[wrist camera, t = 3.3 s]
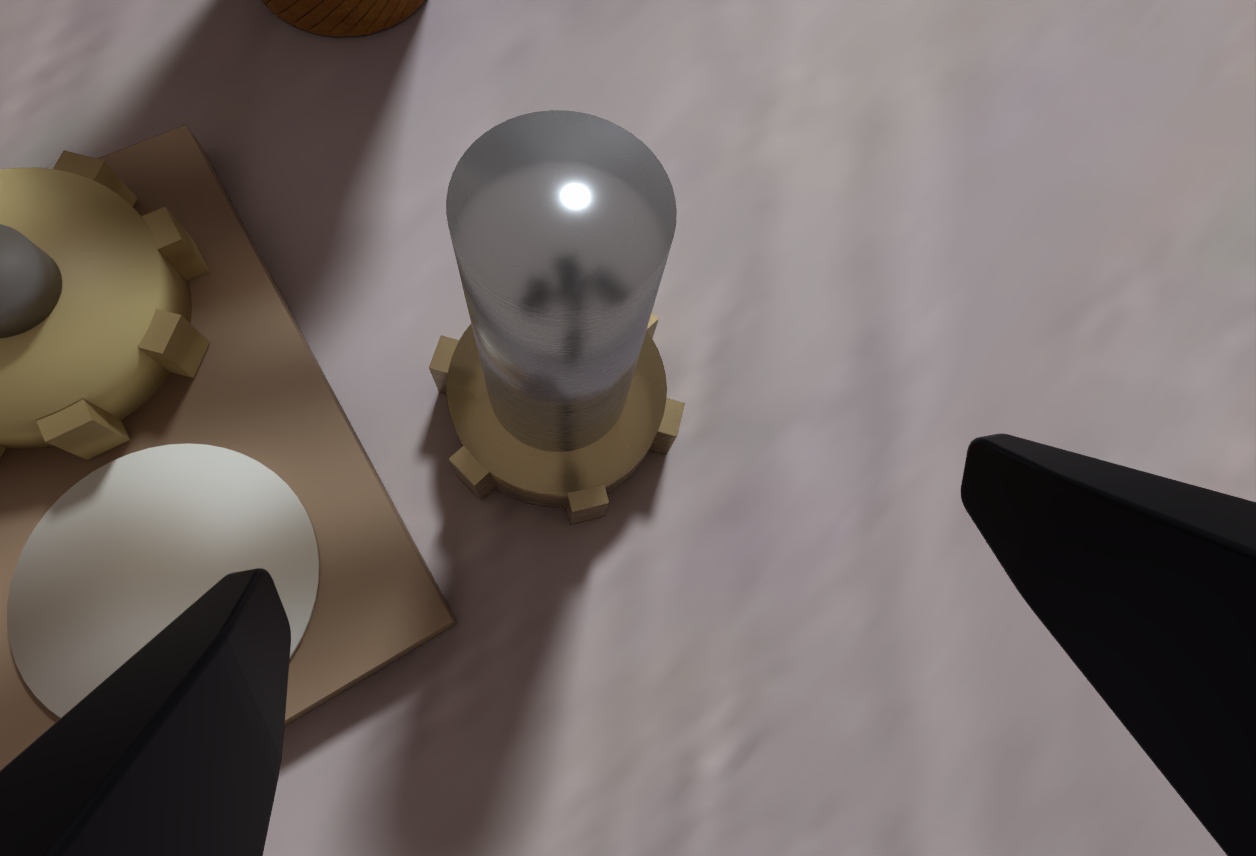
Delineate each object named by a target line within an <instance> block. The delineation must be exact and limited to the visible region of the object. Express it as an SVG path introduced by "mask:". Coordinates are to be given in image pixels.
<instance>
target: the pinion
mask: <svg viewBox="0 0 1256 856" xmlns="http://www.w3.org/2000/svg"><path fill="white" fill-rule="evenodd" d="M676 212H677V211H676V201H675V196H674V192H673V188H672V185H671V182H670V180H669V178H668V175H667V173H666V171H665V170H664V168H663V166H662V164H661V163H660V161H659V160H658V159H657V157H656V156H655V155H654V154H653V152H652V151H651V150H650V149H649V148H648V147H647V146H646V145H645V144H644V143H643V142H642V141H641V140H639V139H638V138H637V137H635V136H634V135H633V134H632V133H630V132H628V131H627V130H625V129H624V128H622V127H620V126H618V125H616V124H614V123H612V122H610V121H608V120H605V119H602V118H599V117H597V116H594V115H589V114H585V113H580V112H573V111H554V110H550V111H541V112H534V113H529V114H525V115H521V116H518V117H515V118H512V119H509V120H507V121H505V122H503V123H501V124H499V125H497V126H495V127H493V128H492V129H490V130H489V131H487V132H486V133H484V134H483V135H482V136H481V137H479V138H478V139H477V140H476V141H475V142H474V143H473V144H472V145H471V146H470V147H469V148H468V149H467V151H466V152H465V153H464V155H463V156H462V157H461V159H460V160H459V162H458V164H457V166H456V168H455V170H454V172H453V174H452V177H451V180H450V183H449V187H448V193H447V199H446V214H447V220H448V226H449V230H450V235H451V239H452V243H453V247H454V252H455V256H456V260H457V264H458V269H459V273H460V277H461V281H462V286H463V290H464V294H465V298H466V303H467V307H468V311H469V315H470V320H471V325H470V326H469V327H468V328H467V330H466V331H465V332H464V334H463V336H462V337H461V339H460V340H456V339H452V338H449V337H445V336H442V335H441V336H440V339H439V342H438V345H437V347H436V350H435V353H434V355H433V358H432V361H431V363H430V366H429V369H430V372H431V374H432V376H433V379H434V381H435V383H436V386H437V388H438V391H439V392H442V393H446V394H447V401H448V408H449V412H450V415H451V419H452V422H453V425H454V427H455V430H456V432H457V434H458V437H459V439H460V442H461V444H462V446H463V447H461V448H460V449H459V450H458V451H457V452H456V453H455V454H453V455H452V456H451V457H450V458H449V461H450V463H451V465H452V467H453V469H454V470H455V472H456V474H457V476H458V477H459V478H460V479H461V480H462V481H463V482H464V483H465V484H466V485H467V486H468V487H469V488H470V489H471V491H472V492H473V493H474V494H475V495H476V496H477V497H478V498H479V499H480V500H482V499H483V498H484V497H485V496H486V495H487V494H488V493H490V492H491V491H492V490H493V489H494V488H497V489H498V490H500V491H501V492H503V493H505V494H507V495H509V496H511V497H513V498H515V499H517V500H520V501H523V502H526V503H528V504H533V505H538V506H545V507H566V509H567V513H568V517H569V521H570V525H571V524H575V523H579V522H583V521H586V520H590V519H594V518H598V517H602V516H604V515H605V512H606V510H607V507H608V504H609V500H608V497H607V494H609V493H610V492H612V491H614V490H615V489H617V488H618V487H620V486H621V485H622V484H623V483H624V482H625V481H627V480H628V479H629V478H630V477H631V476H632V474H633V473H634V472H635V471H636V470H637V469H638V467H639V466H640V464H641V463H642V462H643V460H644V459H645V457H646V455H647V453H648V451H649V450H652V451H655V452H659V453H662V454H666V455H667V453H668V451H669V449H670V448H671V446H672V444H673V442H674V440H675V439H676V437H677V433H678V429H679V425H680V421H681V417H682V413H683V409H684V405H685V403H682V402H679V401H675V400H671V399H668V398H666V394H667V385H666V374H665V370H664V366H663V362H662V359H661V356H660V354H659V351H658V349H657V347H656V345H655V343H654V341H653V340H652V338H653V335H654V332H655V329H656V326H657V323H658V319H659V318H658V317H656V316H655V315H654V314H653V313H652V309H653V306H654V302H655V299H656V296H657V292H658V289H659V285H660V282H661V278H662V275H663V271H664V268H665V265H666V261H667V258H668V254H669V251H670V247H671V244H672V240H673V237H674V232H675V227H676Z"/></svg>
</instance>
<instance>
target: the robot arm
mask: <svg viewBox="0 0 1256 856" xmlns="http://www.w3.org/2000/svg"><path fill="white" fill-rule="evenodd" d="M961 498H962V502H963V505H964V507H965V509H966V511H967V512H968V514H969V515H970V517H971V518H972V520H973V522H974V523H975V525H976V526H977V528H978V529H979V531H980V533H981V534H982V536H983V537H984V539H985V540H986V542H987V543H988V545H989V547H990V548H991V550H992V551H993V553H994V554H995V556H996V557H997V559H998V561H999V562H1000V564H1001V565H1002V567H1003V568H1004V570H1005V572H1006V573H1007V575H1008V576H1009V578H1010V579H1011V581H1012V582H1013V584H1014V585H1015V587H1016V588H1017V590H1018V591H1019V593H1020V594H1021V596H1022V597H1023V598H1024V600H1025V601H1026V602H1027V604H1028V605H1029V606H1030V608H1031V609H1032V610H1033V612H1034V613H1035V614H1036V615H1037V617H1038V618H1039V619H1040V620H1041V622H1042V623H1043V624H1044V626H1045V627H1046V628H1047V629H1048V631H1049V632H1050V633H1051V634H1052V636H1053V637H1054V638H1055V639H1056V641H1057V642H1058V643H1059V644H1060V646H1061V647H1062V648H1063V649H1064V651H1065V652H1066V653H1067V654H1068V656H1069V657H1070V658H1071V659H1072V661H1073V662H1074V663H1075V665H1076V666H1077V667H1078V668H1079V670H1080V671H1081V672H1082V673H1083V675H1084V676H1085V677H1086V678H1087V680H1088V681H1089V682H1090V683H1091V685H1092V686H1093V687H1094V688H1095V690H1096V691H1097V692H1098V693H1099V695H1100V696H1101V697H1102V698H1103V700H1104V701H1105V702H1106V703H1107V705H1108V706H1109V707H1110V709H1111V710H1112V711H1113V712H1114V714H1115V715H1116V716H1117V717H1118V719H1119V720H1120V721H1121V722H1122V724H1123V725H1124V726H1125V727H1126V729H1127V730H1128V731H1129V732H1130V734H1131V735H1132V736H1133V737H1134V739H1135V740H1136V741H1137V742H1138V744H1139V745H1140V746H1141V748H1142V749H1143V750H1144V751H1145V753H1146V754H1147V755H1148V756H1149V758H1150V759H1151V760H1152V761H1153V763H1154V764H1155V765H1156V766H1157V768H1158V769H1159V770H1160V771H1161V773H1162V774H1163V775H1164V776H1165V778H1166V779H1167V780H1168V781H1169V783H1170V784H1171V785H1172V787H1173V788H1174V789H1175V790H1176V792H1177V793H1178V794H1179V795H1180V797H1181V798H1182V799H1183V800H1184V802H1185V803H1186V804H1187V805H1188V807H1189V808H1190V809H1191V810H1192V812H1193V813H1194V814H1195V815H1196V817H1197V818H1198V819H1199V820H1200V822H1201V823H1202V824H1203V826H1204V827H1205V828H1206V829H1207V831H1208V832H1209V833H1210V834H1211V836H1212V837H1213V838H1214V839H1215V841H1216V842H1217V843H1218V844H1219V846H1220V847H1221V848H1222V849H1223V851H1224V852H1225V853H1226V854H1227V856H1256V502H1253V501H1249V500H1245V499H1242V498H1238V497H1234V496H1231V495H1227V494H1223V493H1220V492H1216V491H1212V490H1209V489H1205V488H1202V487H1198V486H1194V485H1191V484H1187V483H1183V482H1180V481H1176V480H1172V479H1169V478H1165V477H1161V476H1158V475H1154V474H1150V473H1147V472H1143V471H1139V470H1136V469H1132V468H1128V467H1125V466H1121V465H1117V464H1114V463H1110V462H1107V461H1103V460H1099V459H1096V458H1092V457H1088V456H1085V455H1081V454H1077V453H1074V452H1070V451H1066V450H1063V449H1059V448H1055V447H1052V446H1048V445H1044V444H1041V443H1037V442H1033V441H1030V440H1026V439H1023V438H1019V437H1015V436H1012V435H1008V434H995V435H989V436H984V437H979V438H976V439H974V440H973V441H972V442H971V443H970V445H969V447H968V450H967V456H966V462H965V468H964V473H963V479H962V485H961ZM290 647H291V630H290V624H289V620H288V617H287V615H286V612H285V610H284V607H283V604H282V602H281V599H280V597H279V594H278V591H277V589H276V586H275V584H274V581H273V579H272V576H271V575H270V573H269V572H268V571H267V570H265V569H263V568H256V569H251V570H245V571H239V572H234V573H230V574H227V575H226V576H224V577H223V578H222V579H221V580H220V581H218V582H217V583H216V584H215V585H214V586H213V587H211V588H210V589H209V590H208V591H207V592H206V593H205V594H203V595H202V596H201V597H200V598H199V599H198V600H196V601H195V602H194V603H193V604H192V605H191V606H190V607H188V608H187V609H186V610H185V611H184V612H183V613H181V614H180V615H179V616H178V617H177V618H176V619H175V620H173V621H172V622H171V623H170V624H169V625H168V626H167V627H165V628H164V629H163V630H162V631H161V632H160V633H158V634H157V635H156V636H155V637H154V638H153V639H152V640H150V641H149V642H148V643H147V644H146V645H145V646H143V647H142V648H141V649H140V650H139V651H138V652H137V653H135V654H134V655H133V656H132V657H131V658H130V659H128V660H127V661H126V662H125V663H124V664H123V665H122V666H120V667H119V668H118V669H117V670H116V671H115V672H113V673H112V674H111V675H110V676H109V677H108V678H107V679H105V680H104V681H103V682H102V683H101V684H100V685H98V686H97V687H96V688H95V689H94V690H93V691H92V692H90V693H89V694H88V695H87V696H86V697H85V698H83V699H82V700H81V701H80V702H79V703H78V704H77V705H75V706H74V707H73V708H72V709H71V710H70V711H68V712H67V713H66V714H65V715H64V716H63V717H61V718H60V719H59V720H58V721H57V722H56V723H55V724H53V725H52V726H51V727H50V728H49V729H48V730H46V731H45V732H44V733H43V734H42V735H41V736H40V737H38V738H37V739H36V740H35V741H34V742H33V743H31V744H30V745H29V746H28V747H27V748H26V749H25V750H23V751H22V752H21V753H20V754H19V755H18V756H16V757H15V758H14V759H13V760H12V761H11V762H10V763H8V764H7V765H6V766H5V767H4V768H3V769H1V770H0V856H263V851H264V846H265V841H266V836H267V831H268V826H269V821H270V816H271V811H272V806H273V801H274V796H275V791H276V786H277V782H278V776H279V770H280V764H281V758H282V749H283V739H284V726H285V713H286V700H287V686H288V673H289V660H290Z"/></svg>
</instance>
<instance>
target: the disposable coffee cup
mask: <svg viewBox="0 0 1256 856" xmlns="http://www.w3.org/2000/svg"><path fill="white" fill-rule="evenodd" d="M262 1H263V2H264V3H265V4H266V5H267V6H268V8H269V9H270V10H271V11H272V12H273V13H275V14H276V15H277V16H278V17H280V18H281V19H282V20H284V21H286V22H288V23H290V24H291V25H293V26H295V27H297V28H300V29H303V30H306V31H309V32H312V33H315V34H321V35H327V36H360V35H367V34H372V33H375V32H378V31H381V30H384V29H387V28H390V27H392V26H394V25H395V24H397V23H399V22H401V21H403V20H404V19H406V18H407V17H409V16H410V15H411V14H413V13H414V12H415V11H416V10H417V9H418V8H419V7H420V6H421V4H422V3H423V2H424V1H425V0H262Z"/></svg>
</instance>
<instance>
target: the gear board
mask: <svg viewBox="0 0 1256 856" xmlns="http://www.w3.org/2000/svg"><path fill="white" fill-rule="evenodd" d="M256 568H263V569H265V570H267V571H268V572H269V573H270V575H271V576H272V579H273V581H274V584H275V586H276V589H277V591H278V594H279V597H280V599H281V602H282V604H283V607H284V610H285V612H286V615H287V617H288V620H289V624H290V630H291V647H290V660H289V673H288V686H287V700H286V713H285V726H286V725H288V724H290V723H292V722H293V721H295V720H297V719H298V718H300V717H302V716H303V715H305V714H307V713H308V712H310V711H312V710H313V709H315V708H317V707H318V706H320V705H322V704H323V703H325V702H327V701H328V700H330V699H332V698H334V697H335V696H337V695H339V694H340V693H342V692H344V691H345V690H347V689H349V688H350V687H352V686H354V685H355V684H357V683H359V682H360V681H362V680H364V679H365V678H367V677H369V676H371V675H372V674H374V673H376V672H377V671H379V670H381V669H382V668H384V667H386V666H387V665H389V664H391V663H392V662H394V661H396V660H397V659H399V658H401V657H402V656H404V655H406V654H407V653H409V652H411V651H413V650H414V649H416V648H418V647H419V646H421V645H423V644H424V643H426V642H428V641H429V640H431V639H433V638H434V637H436V636H438V635H439V634H441V633H443V632H444V631H446V630H448V629H450V628H451V627H453V626H455V625H456V624H458V623H457V621H456V619H455V617H454V615H453V613H452V611H451V610H450V608H449V606H448V604H447V602H446V600H445V598H444V597H443V595H442V593H441V591H440V589H439V587H438V585H437V584H436V582H435V580H434V578H433V576H432V574H431V572H430V571H429V569H428V567H427V565H426V563H425V561H424V559H423V558H422V556H421V554H420V552H419V550H418V548H417V546H416V545H415V543H414V541H413V539H412V537H411V535H410V533H409V531H408V530H407V528H406V526H405V524H404V522H403V520H402V518H401V517H400V515H399V513H398V511H397V509H396V507H395V505H394V504H393V502H392V500H391V498H390V496H389V494H388V492H387V491H386V489H385V487H384V485H383V483H382V481H381V479H380V478H379V476H378V474H377V472H376V470H375V468H374V466H373V465H372V463H371V461H370V459H369V457H368V455H367V453H366V452H365V450H364V448H363V446H362V444H361V442H360V440H359V439H358V437H357V435H356V433H355V431H354V429H353V427H352V425H351V424H350V422H349V420H348V418H347V416H346V414H345V412H344V411H343V409H342V407H341V405H340V403H339V401H338V399H337V398H336V396H335V394H334V392H333V390H332V388H331V386H330V385H329V383H328V381H327V379H326V377H325V375H324V373H323V372H322V370H321V368H320V366H319V364H318V362H317V360H316V359H315V357H314V355H313V353H312V351H311V349H310V347H309V346H308V344H307V342H306V340H305V338H304V336H303V334H302V332H301V331H300V329H299V327H298V325H297V323H296V321H295V319H294V318H293V316H292V314H291V312H290V310H289V308H288V306H287V305H286V303H285V301H284V299H283V297H282V295H281V293H280V292H279V290H278V288H277V286H276V284H275V282H274V280H273V279H272V277H271V275H270V273H269V271H268V269H267V267H266V266H265V264H264V262H263V260H262V258H261V256H260V254H259V253H258V251H257V249H256V247H255V245H254V243H253V241H252V240H251V238H250V236H249V234H248V232H247V230H246V228H245V226H244V225H243V223H242V221H241V219H240V217H239V215H238V213H237V212H236V210H235V208H234V206H233V204H232V202H231V200H230V199H229V197H228V195H227V193H226V191H225V189H224V187H223V186H222V184H221V182H220V180H219V178H218V176H217V174H216V173H215V171H214V169H213V167H212V165H211V163H210V161H209V160H208V158H207V156H206V154H205V152H204V150H203V149H202V147H201V146H200V144H199V143H198V141H197V140H196V139H195V137H194V136H193V134H192V133H191V131H190V130H189V128H188V127H187V125H184V126H181V127H179V128H176V129H174V130H171V131H168V132H166V133H163V134H161V135H158V136H155V137H153V138H150V139H148V140H145V141H142V142H140V143H137V144H135V145H132V146H129V147H127V148H124V149H122V150H119V151H116V152H114V153H111V154H109V155H106V156H103V157H101V158H98V159H95V158H91V157H87V156H83V155H79V154H76V153H72V152H68V151H63V153H62V154H61V156H60V158H59V160H58V161H57V163H56V165H55V166H54V168H53V169H45V168H12V169H3V170H0V770H1V769H3V768H4V767H5V766H6V765H7V764H8V763H10V762H11V761H12V760H13V759H14V758H15V757H16V756H18V755H19V754H20V753H21V752H22V751H23V750H25V749H26V748H27V747H28V746H29V745H30V744H31V743H33V742H34V741H35V740H36V739H37V738H38V737H40V736H41V735H42V734H43V733H44V732H45V731H46V730H48V729H49V728H50V727H51V726H52V725H53V724H55V723H56V722H57V721H58V720H59V719H60V718H61V717H63V716H64V715H65V714H66V713H67V712H68V711H70V710H71V709H72V708H73V707H74V706H75V705H77V704H78V703H79V702H80V701H81V700H82V699H83V698H85V697H86V696H87V695H88V694H89V693H90V692H92V691H93V690H94V689H95V688H96V687H97V686H98V685H100V684H101V683H102V682H103V681H104V680H105V679H107V678H108V677H109V676H110V675H111V674H112V673H113V672H115V671H116V670H117V669H118V668H119V667H120V666H122V665H123V664H124V663H125V662H126V661H127V660H128V659H130V658H131V657H132V656H133V655H134V654H135V653H137V652H138V651H139V650H140V649H141V648H142V647H143V646H145V645H146V644H147V643H148V642H149V641H150V640H152V639H153V638H154V637H155V636H156V635H157V634H158V633H160V632H161V631H162V630H163V629H164V628H165V627H167V626H168V625H169V624H170V623H171V622H172V621H173V620H175V619H176V618H177V617H178V616H179V615H180V614H181V613H183V612H184V611H185V610H186V609H187V608H188V607H190V606H191V605H192V604H193V603H194V602H195V601H196V600H198V599H199V598H200V597H201V596H202V595H203V594H205V593H206V592H207V591H208V590H209V589H210V588H211V587H213V586H214V585H215V584H216V583H217V582H218V581H220V580H221V579H222V578H223V577H224V576H226V575H227V574H230V573H234V572H239V571H245V570H251V569H256ZM285 726H284V727H285Z"/></svg>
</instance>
